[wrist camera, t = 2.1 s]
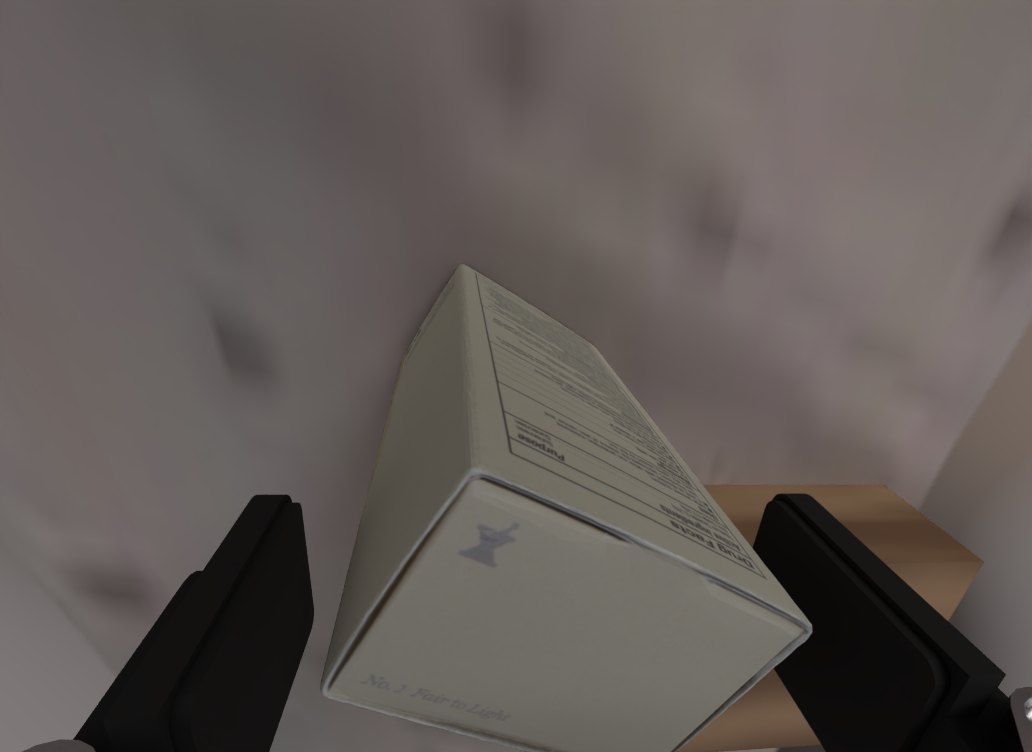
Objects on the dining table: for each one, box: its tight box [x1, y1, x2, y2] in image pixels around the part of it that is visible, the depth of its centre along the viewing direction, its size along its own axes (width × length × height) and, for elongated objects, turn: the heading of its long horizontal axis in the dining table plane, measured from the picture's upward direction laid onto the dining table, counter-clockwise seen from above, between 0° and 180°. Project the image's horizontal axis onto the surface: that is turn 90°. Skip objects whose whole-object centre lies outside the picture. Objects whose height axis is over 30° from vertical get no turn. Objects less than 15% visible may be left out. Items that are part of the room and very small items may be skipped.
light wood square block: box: [677, 485, 984, 752], centre depth 22 cm, size 11×11×5 cm
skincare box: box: [320, 264, 813, 752], centre depth 12 cm, size 6×4×12 cm
